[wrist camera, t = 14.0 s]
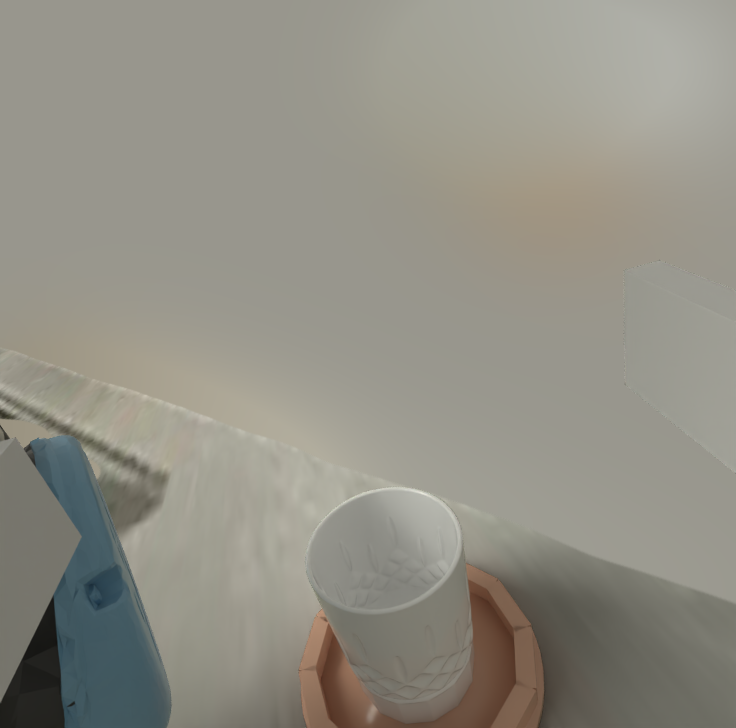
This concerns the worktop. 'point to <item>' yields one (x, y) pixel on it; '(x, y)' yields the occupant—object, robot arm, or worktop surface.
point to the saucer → (484, 696)
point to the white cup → (397, 599)
